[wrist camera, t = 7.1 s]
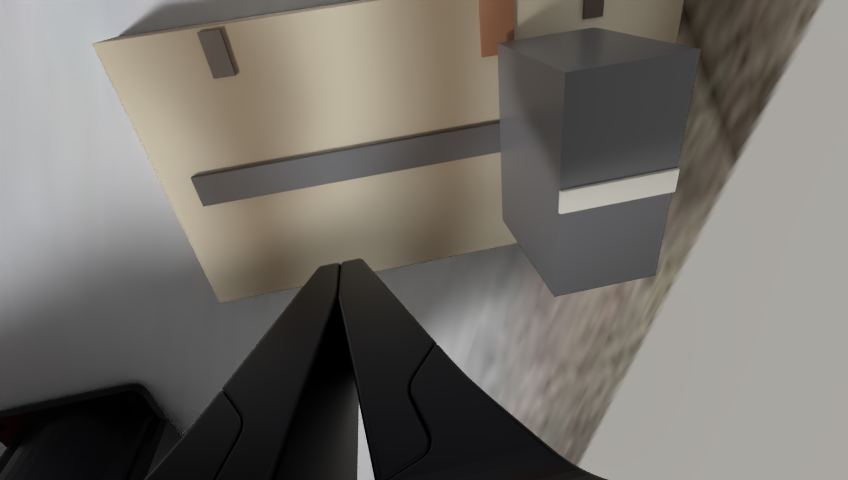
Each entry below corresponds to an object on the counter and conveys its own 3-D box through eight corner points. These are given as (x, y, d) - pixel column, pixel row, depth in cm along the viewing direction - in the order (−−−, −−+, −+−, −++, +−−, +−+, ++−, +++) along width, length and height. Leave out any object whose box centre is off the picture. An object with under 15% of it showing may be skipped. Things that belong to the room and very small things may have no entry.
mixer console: (227, 279, 18) (218, 306, 16) (116, 36, 13) (88, 45, 11) (625, 200, 19) (648, 219, 17) (660, -46, 14) (697, -48, 13)
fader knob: (502, 220, 16) (555, 298, 12) (497, 42, 13) (567, 72, 9) (580, 204, 16) (657, 277, 12) (594, 27, 13) (704, 49, 9)
